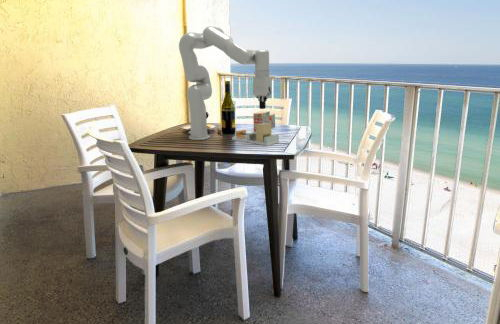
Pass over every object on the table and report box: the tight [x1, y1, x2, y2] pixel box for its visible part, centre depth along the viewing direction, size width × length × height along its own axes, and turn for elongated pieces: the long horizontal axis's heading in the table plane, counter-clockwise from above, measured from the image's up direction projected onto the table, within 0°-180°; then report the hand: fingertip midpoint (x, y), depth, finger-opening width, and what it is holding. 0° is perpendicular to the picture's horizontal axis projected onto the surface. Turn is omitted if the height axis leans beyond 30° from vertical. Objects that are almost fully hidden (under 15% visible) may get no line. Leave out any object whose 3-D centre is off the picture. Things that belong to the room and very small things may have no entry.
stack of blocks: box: [252, 110, 276, 132], centre depth 248 cm, size 21×6×12 cm, turn 154°
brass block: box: [256, 123, 272, 142], centre depth 207 cm, size 5×7×9 cm
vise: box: [231, 134, 280, 147], centre depth 213 cm, size 27×10×4 cm, turn 46°
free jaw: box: [235, 129, 256, 140], centre depth 216 cm, size 13×10×3 cm
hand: (262, 108), depth 204 cm, fingers closed
